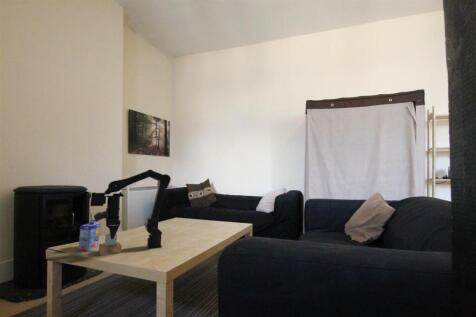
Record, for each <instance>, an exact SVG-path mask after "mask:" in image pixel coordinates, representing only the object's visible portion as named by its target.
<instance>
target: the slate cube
mask: <svg viewBox="0 0 476 317" xmlns="http://www.w3.org/2000/svg"><path fill="white" fill-rule="evenodd" d="M104 237H105V238H104V243H105V246H110V245H117V242H118V234H117V232H116V234H115V236H114V239H111V236H110V232H109V233H105V234H104Z"/></svg>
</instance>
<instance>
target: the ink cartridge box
mask: <svg viewBox="0 0 476 317" xmlns="http://www.w3.org/2000/svg"><path fill="white" fill-rule="evenodd" d="M79 227H80V228H79V239H78V240H79V241H78V250H81V251H89V250H91V249H93V248H96V247H99V244H100V234H101V232H100V231H101V222H96V221H95V219H92V220H91V221H90V222H89V223H84V224H82V225H80V226H79Z"/></svg>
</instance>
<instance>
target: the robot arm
mask: <svg viewBox="0 0 476 317" xmlns="http://www.w3.org/2000/svg"><path fill="white" fill-rule="evenodd" d="M149 178H151V179H152V180H155V181H157V189H156V190H157V191H156V194H155V197H154V201H153V204H152V209H151V213H150V215H149V217H146V218H145V222H144V224H143V225H144V228H145V231H147V233H148V236H147V239H146V240H147V241H146V247H147V248H148V249H156V248H158V249H159V248H162V247H163V246H162V235H163V231H161V230H160V229H159V217H160V216H159V215H160V211H161V209H162V208H161V207H162V204H163V201H164V197H165V192H166V190H167V189H168V187H169V185H170V183H171V182H172V179H171V176H170V175H169V174H166V173H165V174H162V173H160V172H157V171H154V170H153V169H148V170H145V171H143V172H141V173H138V174H134V175H132V176H130V177H126V178H121V179H117V180H112V181H110V182H108V185H107V188H106V190H104V192H96V191H95V192H91V198H90V203H89V204H90V207H103V206H104V205H106V204H107V206H106V207H105V210H103V211H99V212H96V213H95V214H93V218H94V220H95V223H98V222H99V221H101V220H103V219H104V220H105V227H106V228H108V230H109V233H110V236H111V239H114V236H115V234H116V233H117V232H118V230H119V228H120V227H121V219H120V211H121V210H120V209H121V208H120V203H121V197H122V198H123V197H125V195H124V194H123V193H122V192H121V190H123V189H124V188H127V187H128V186H130V185H133V184H135V183H137V182H141V181H143V180H146V179H149ZM118 192H119V193H118Z"/></svg>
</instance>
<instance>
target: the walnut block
mask: <svg viewBox="0 0 476 317" xmlns="http://www.w3.org/2000/svg"><path fill="white" fill-rule="evenodd" d="M98 253H99V255H100V256H102V257H103V256H107V255H108V256H109V255H116V254H118V255H119V254H122V243H120V242H119V241H117V245H110V246H105V242H103V243H102V242H101V243H99V245H98Z"/></svg>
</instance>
